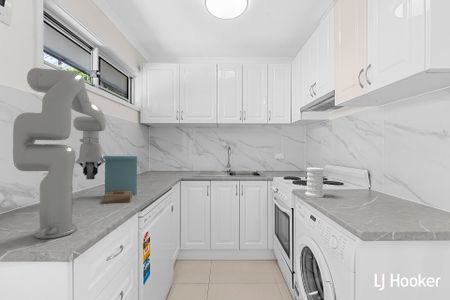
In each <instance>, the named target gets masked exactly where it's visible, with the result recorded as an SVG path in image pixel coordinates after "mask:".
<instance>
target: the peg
mask: <svg viewBox="0 0 450 300" xmlns="http://www.w3.org/2000/svg"><path fill="white" fill-rule="evenodd" d="M94 168H95V164H94V162H86V175H85V179H86V180H95V179H96V178H95V177H96V175H94Z"/></svg>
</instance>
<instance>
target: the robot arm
mask: <svg viewBox="0 0 450 300" xmlns="http://www.w3.org/2000/svg"><path fill="white" fill-rule="evenodd" d="M26 81H27V84H28V86H29V87H30V88H31V89H32V90H33V91H34V92H37V93H42V94H43V93H44V95H43V97H42V102H41V103H42V105H41V111H40V112H23V113H20V114H18V115H17V116H16V117H15V119H14V121H13V122H14V123H13V128H12V159H13V160H12V161H13V165H14V167H15V168H16V170H19V171H21V172H47V174H46V176H45V177H43V179H42V180H41V181H40V183H39V228H38V229H36V230H35V231H34V232H33V236H34V238H36V239H42V240H43V239H46V240H47V239H54V238H55V239H56V238H61V237H65V236H67V235H71V234H73V233H75V232H76V231H77V230H78V225H77V224H76V223H73V175H74V168H75V163H76V164H77V165H79V166H80V167H82V174H83V175H84V176H86V162H94V164H95V168H94V175H95V176H97V174H98V173H99V172H98V171H99V169H98V168H99V167H100V166H102V164H103V165H104V164H105V159H103V156H102V149H101V144H100V142H99V141H100V139H99V137H100V134H99V133H100V132H103V131H105V130H106V126H107V123H106V122H107V121H106V118H105V114H104V111H103V110H102V109H101V108H100V107H99V106H98V105H96V104H95V103H94V102H91V100H90V98H89V94H88V91H87V88H86V84H85V82H84V77H83V75H82V74H81V73H79V72H76V71H71V70H64V69H63V70H62V69H53V68H52V69H51V68H41V67H40V68H38V67H34V68H31V69H30V70H29V71H28V72H27V74H26ZM72 111H75V112H77V113H80V114H82V115H83V116H76V117H75V118H74V119H73V122H72ZM84 115H85V116H84ZM72 124H73V127H74V129H76V130H77V131H80V132H82V138H81V139H79V142H81V143H80V147H79V154H78V158H77V159H76V151H75V149H74V148H73V147H71V146H69V145H67V144H60V143H59V144H58V143H55V144H54V143H53V144H52V143H44V144H43V143H42V144H41V143H36V141H64V140H65V141H66V140H68V139H69V138H70V136H71V132H72V131H71V130H72Z"/></svg>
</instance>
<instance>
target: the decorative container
mask: <svg viewBox="0 0 450 300" xmlns="http://www.w3.org/2000/svg"><path fill="white" fill-rule="evenodd" d="M306 171H307V173H306V174H307V175H306V176H307V177H306V191H305V192H304V193H305V194H304V195H305V196H306V197H309V198H310V197H312V198H324V197H325V194H324V193H323V191H324V189H323V186H324V182H323V181H324V178H323V177H324V172H325V168H322V167H306ZM323 196H324V197H323Z"/></svg>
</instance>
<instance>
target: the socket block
mask: <svg viewBox="0 0 450 300" xmlns="http://www.w3.org/2000/svg"><path fill="white" fill-rule="evenodd" d="M132 196H133V195H132V190H130V191H108V192H107V193H106V194H105V193H104V195H103V205H105V204H120V203H121V204H123V203H131V200H132V198H133V197H132Z"/></svg>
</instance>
